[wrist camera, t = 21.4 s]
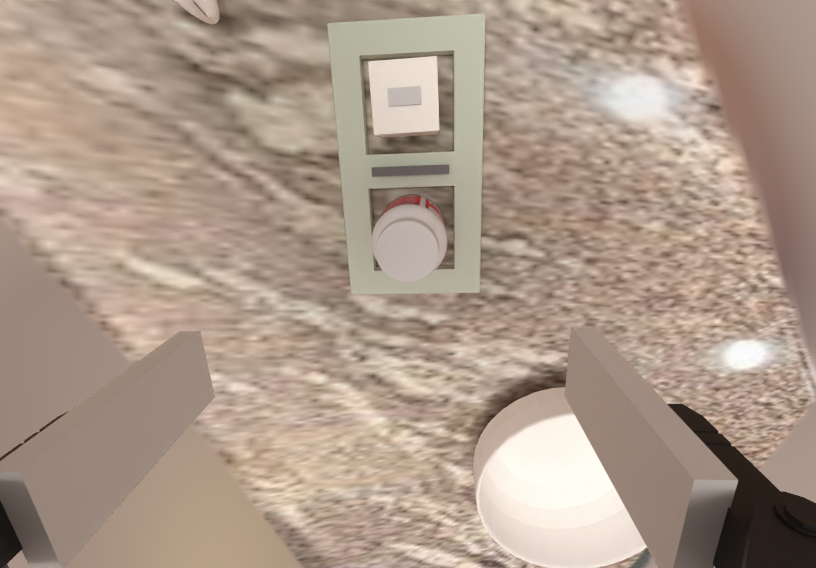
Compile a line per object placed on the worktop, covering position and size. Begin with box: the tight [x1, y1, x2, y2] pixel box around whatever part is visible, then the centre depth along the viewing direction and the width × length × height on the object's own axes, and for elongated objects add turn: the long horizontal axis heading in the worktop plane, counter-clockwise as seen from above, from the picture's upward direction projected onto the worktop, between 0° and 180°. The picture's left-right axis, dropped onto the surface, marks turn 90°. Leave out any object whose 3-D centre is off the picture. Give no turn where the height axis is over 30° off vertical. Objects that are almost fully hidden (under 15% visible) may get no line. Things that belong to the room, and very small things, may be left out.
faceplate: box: [327, 13, 485, 295], centre depth 37 cm, size 24×13×2 cm, turn 2°
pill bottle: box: [371, 195, 447, 282], centre depth 34 cm, size 6×6×11 cm
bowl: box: [473, 387, 647, 568], centre depth 43 cm, size 20×20×8 cm
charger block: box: [368, 56, 439, 138], centre depth 33 cm, size 5×5×7 cm
